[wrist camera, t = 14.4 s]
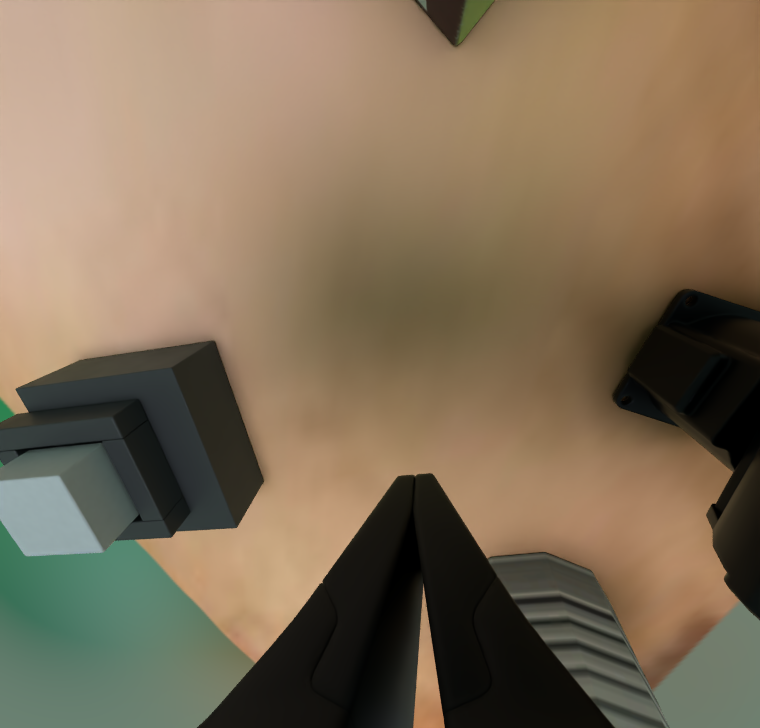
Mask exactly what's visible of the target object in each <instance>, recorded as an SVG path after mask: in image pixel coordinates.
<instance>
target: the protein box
mask: <svg viewBox="0 0 760 728" xmlns="http://www.w3.org/2000/svg"><path fill="white" fill-rule="evenodd" d="M416 1H417V2H418V4H419V5H420V6H421V7H422V8H423V10H424V11H425V12H426V13H427V14H428V15H429V17H430V18H431V19H432V20H433V21H434V22H435V24H436V25H437V26H438V27H439V28H440V29H441V30H442V32H443V33H444V34H445V35H446V36H447V38H448V39H449V40H450V41H451V42H452V43H453V45H455V46H456V45H458V44H460V43H461V42H462V41H463V40H464V38H465V37H466V36H467V35H468V33H469V32H470V31H471V29H472V28H473V27H474V26H475V24H476V23H477V22H478V21H479V19H480V18H481V17H482V15H483V14H484V13H485V12H486V10H487V9H488V8H489V7H490V5H491V4H492V3H493V2H494V0H416Z"/></svg>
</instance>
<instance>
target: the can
mask: <svg viewBox="0 0 760 728" xmlns="http://www.w3.org/2000/svg"><path fill="white" fill-rule="evenodd" d="M488 561H489V563H490V564H491V566H492V567H493V569H494V571H495V572H496V574H497V576H498V578H500V580H501V581H502V583H503V584H504V586H505V587H506V589H507V591H508V592H509V594H510V595H511V597H512V598H513V600H514V601H515V602H516V604H517V605H518V607H519V608H520V610H521V611H522V613H523V614H524V616H525V617H526V618H527V620H528V621H529V622H530V624H531V625H532V626H533V627H534V629H535V630H536V631H537V633H538V634H539V635H540V636H541V638H542V639H543V640H544V642H545V643H546V644H547V645H548V647H549V648H550V649H551V650H552V652H553V653H554V654H555V655H556V656H557V658H558V659H559V660H560V661H561V663H562V664H563V665H564V666H565V667H566V669H567V670H568V671H569V672H570V674H571V675H572V676H573V677H574V678H575V680H576V681H577V682H578V683H579V685H580V686H581V687H582V688H583V689H584V691H585V692H586V693H587V694H588V696H589V697H590V698H591V699H592V700H593V702H594V703H595V704H596V705H597V707H598V708H599V709H600V710H601V711H602V713H603V714H604V715H605V716H606V718H607V719H608V720H609V721H610V722H611V723H612V725H613V726H614V727H615V728H670V727H669V725H668V723H667V721H666V719H665V717H664V715H663V713H662V711H661V709H660V706H659V704H658V702H657V700H656V698H655V696H654V694H653V692H652V690H651V688H650V685H649V683H648V681H647V679H646V677H645V675H644V673H643V671H642V669H641V667H640V665H639V662H638V660H637V658H636V656H635V654H634V652H633V650H632V648H631V646H630V644H629V641H628V639H627V637H626V635H625V633H624V631H623V629H622V627H621V625H620V623H619V621H618V618H617V616H616V614H615V612H614V610H613V608H612V606H611V604H610V602H609V600H608V599H607V597H606V595H605V593H604V592H603V590H602V588H601V586H600V585H599V583H598V581H597V579H596V578H595V576H594V574H593V572H592V571H591V570H588V569H586V568H583V567H580V566H578V565H575V564H573V563H570V562H568V561H565V560H563V559H560V558H558V557H555V556H553V555H550V554H547V553H545V552H544V553H533V554H522V555H511V556H499V557H491V558H489V559H488Z"/></svg>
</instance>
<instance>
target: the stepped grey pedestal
mask: <svg viewBox="0 0 760 728" xmlns="http://www.w3.org/2000/svg"><path fill="white" fill-rule="evenodd" d="M16 391H17V393H18V395H19V396H20V398H21V400H22V401H23V403H24V405H25V407H26V408H27V410H28V412H29V413H21V414H16V415H14V416H12V417H11V418H8V419H7V420H4V421H2V422H1V423H0V460H1V462H2V463H3V465H6V464H7V463H9V462H11V461H12V460H14V459H16V458H17V457H19V456H21V455H22V454H24V453H25V452H27V451H29V450H35V449H45V448H54V447H64V446H73V445H83V444H93V443H102V444H103V445H104V447H105V449H106V451H107V453H108V455H109V457H110V459H111V461H112V463H113V465H114V467H115V468H116V470H117V472H118V474H119V476H120V478H121V480H122V482H123V484H124V486H125V488H126V490H127V491H128V493H129V495H130V497H131V499H132V501H133V503H134V505H135V507H136V509H137V511H138V513H139V515H138V516H137V517H136V518H135V519H134V520H133V521H132V522H131V523H130V524H129V526H128V527H127V528H126V529H125V530H124V531H123V532H122V533H121V534H120V535H119V536H118V537H117V538H116V540H135V539H154V538H171V537H172V536H173V535H174V534H175V532H176V531H193V530H210V529H227V528H237V527H238V525H239V523H240V522H241V520H242V518H243V516H244V515H245V513H246V511H247V509H248V508H249V506H250V504H251V503H252V501H253V499H254V497H255V496H256V494H257V492H258V491H259V489H260V487H261V485H262V484H263V482H264V481H263V478H262V475H261V472H260V469H259V467H258V464H257V461H256V458H255V455H254V452H253V450H252V447H251V444H250V441H249V438H248V435H247V433H246V430H245V427H244V424H243V421H242V419H241V416H240V413H239V410H238V407H237V404H236V402H235V399H234V396H233V393H232V390H231V387H230V385H229V382H228V379H227V376H226V373H225V370H224V368H223V365H222V362H221V359H220V356H219V353H218V351H217V348H216V345H215V342H214V341H209V342H202V343H195V344H188V345H181V346H174V347H168V348H161V349H154V350H147V351H140V352H133V353H126V354H120V355H113V356H106V357H99V358H92V359H85V360H80V361H77V362H75V363H73V364H70V365H68V366H66V367H64V368H61V369H59V370H57V371H55V372H52V373H50V374H48V375H46V376H43V377H41V378H39V379H37V380H34V381H32V382H30V383H28V384H25V385H23V386H21V387H18V388H16ZM116 540H115V541H116Z"/></svg>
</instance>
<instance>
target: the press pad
mask: <svg viewBox="0 0 760 728" xmlns="http://www.w3.org/2000/svg"><path fill="white" fill-rule="evenodd" d="M138 515H139V513H138V511H137V509H136V507H135V505H134V503H133V501H132V499H131V497H130V495H129V493H128V491H127V490H126V488H125V486H124V484H123V482H122V480H121V478H120V476H119V474H118V472H117V470H116V468H115V467H114V465H113V463H112V461H111V459H110V457H109V455H108V453H107V451H106V449H105V447H104V445H103V444H102V443H93V444H83V445H73V446H64V447H54V448H45V449H35V450H29V451H27V452H25V453H24V454H22V455H21V456H19V457H17V458H16V459H14V460H12V461H11V462H9V463H7V464H6V465H4V466H3V467H1V468H0V520H1V522H2V523H3V525H4V526H5V528H6V529H7V530H8V532H9V533H10V535H11V536H12V538H13V539H14V540H15V542H16V543H17V545H18V546H19V548H20V549H21V550H22V552H23V553H24V555H25V556H40V555H61V554H81V553H102V552H104V551H105V550H106V549H107V548H108V547H109V546H110V545H111V544H112V543H113V542H114V541H115V540H116V538H117V537H118V536H119V535H120V534H121V533H122V532H123V531H124V530H125V529H126V528H127V527H128V526H129V524H130V523H131V522H132V521H133V520H134V519H135V518H136V517H137V516H138Z"/></svg>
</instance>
